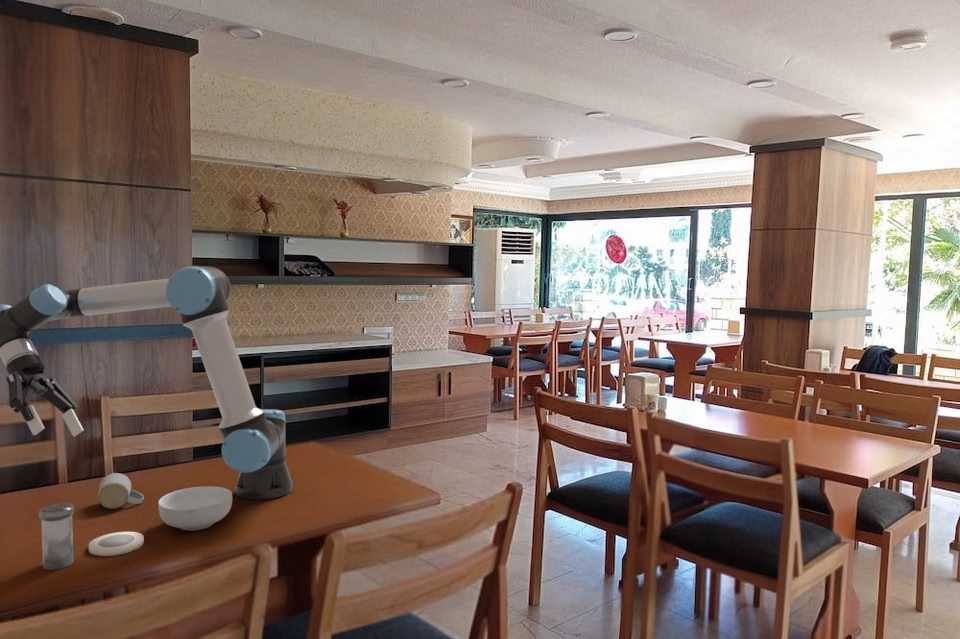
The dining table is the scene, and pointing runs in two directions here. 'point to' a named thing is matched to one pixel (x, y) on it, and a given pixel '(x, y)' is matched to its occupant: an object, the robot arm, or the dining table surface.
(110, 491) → the ceramic mug
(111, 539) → the round white coaster
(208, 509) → the cereal bowl
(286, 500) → the dining table surface
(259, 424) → the robot arm
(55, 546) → the lidded glass jar
